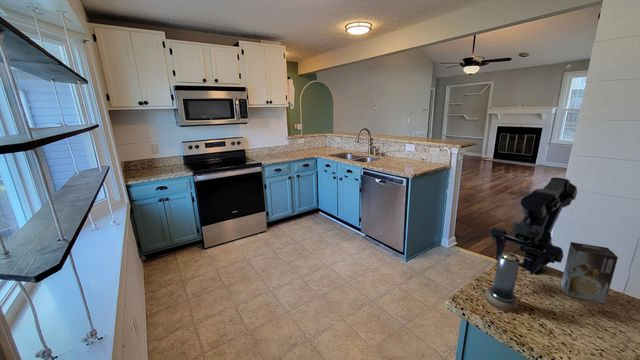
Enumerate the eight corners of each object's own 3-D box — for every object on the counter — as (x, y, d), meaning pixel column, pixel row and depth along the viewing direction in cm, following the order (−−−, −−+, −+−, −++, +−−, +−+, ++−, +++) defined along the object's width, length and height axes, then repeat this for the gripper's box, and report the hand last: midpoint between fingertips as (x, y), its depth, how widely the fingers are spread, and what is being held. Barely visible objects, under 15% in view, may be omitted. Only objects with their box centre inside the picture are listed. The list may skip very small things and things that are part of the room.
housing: (507, 289, 85) (514, 250, 81) (519, 303, 79) (528, 261, 75) (486, 288, 86) (492, 249, 82) (496, 302, 79) (504, 261, 76)
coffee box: (596, 292, 86) (609, 247, 81) (605, 304, 80) (620, 257, 76) (559, 284, 90) (570, 241, 86) (566, 295, 84) (577, 250, 80)
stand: (498, 289, 88) (499, 284, 87) (524, 307, 80) (525, 301, 79) (478, 295, 85) (479, 290, 85) (503, 314, 78) (504, 308, 77)
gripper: (495, 205, 89) (475, 244, 86) (569, 223, 74) (548, 272, 71) (501, 220, 96) (483, 258, 92) (570, 239, 81) (552, 285, 78)
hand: (513, 267), depth 83 cm, fingers open, 9 cm apart
